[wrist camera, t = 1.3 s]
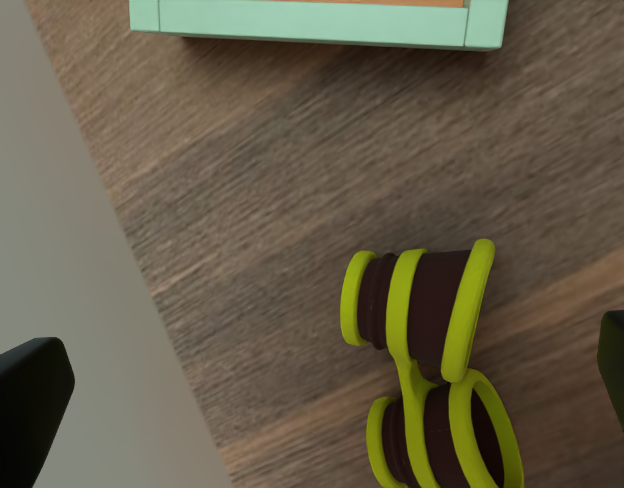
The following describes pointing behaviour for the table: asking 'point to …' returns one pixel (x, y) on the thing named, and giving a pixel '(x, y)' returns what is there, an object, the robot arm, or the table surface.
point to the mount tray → (331, 21)
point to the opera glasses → (437, 352)
